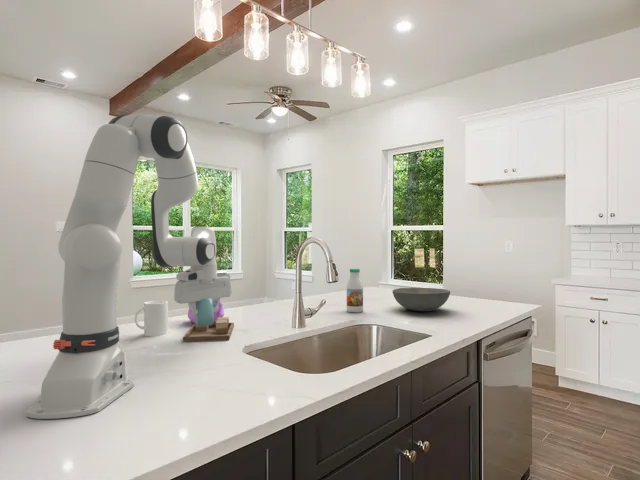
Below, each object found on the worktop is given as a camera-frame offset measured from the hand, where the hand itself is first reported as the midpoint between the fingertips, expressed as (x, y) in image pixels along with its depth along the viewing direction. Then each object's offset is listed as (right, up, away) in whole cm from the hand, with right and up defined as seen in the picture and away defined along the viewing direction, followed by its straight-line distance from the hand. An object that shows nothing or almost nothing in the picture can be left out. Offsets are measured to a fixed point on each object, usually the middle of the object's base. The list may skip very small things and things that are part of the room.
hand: (204, 313), depth 138 cm
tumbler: (0, -4, 0) cm, 4 cm away
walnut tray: (+1, -9, +5) cm, 10 cm away
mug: (-21, -9, +5) cm, 23 cm away
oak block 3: (+4, -8, +7) cm, 12 cm away
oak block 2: (+3, -8, +12) cm, 15 cm away
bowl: (+87, -8, +49) cm, 101 cm away
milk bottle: (+56, -8, +48) cm, 75 cm away
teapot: (-7, -9, +24) cm, 27 cm away
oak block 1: (-4, -8, +11) cm, 14 cm away
